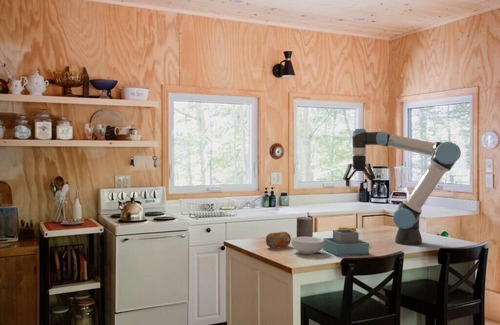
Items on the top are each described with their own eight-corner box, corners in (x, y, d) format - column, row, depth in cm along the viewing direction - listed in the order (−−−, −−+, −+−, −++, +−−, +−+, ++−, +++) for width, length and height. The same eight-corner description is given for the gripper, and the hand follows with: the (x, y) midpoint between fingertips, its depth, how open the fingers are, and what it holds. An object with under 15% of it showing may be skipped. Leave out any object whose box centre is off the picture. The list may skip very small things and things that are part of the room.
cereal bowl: (301, 257, 243) (301, 243, 243) (286, 250, 258) (286, 237, 258) (330, 254, 250) (330, 240, 250) (313, 248, 265) (313, 235, 265)
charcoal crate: (349, 247, 262) (350, 229, 262) (358, 251, 253) (358, 232, 252) (332, 248, 260) (332, 230, 260) (340, 252, 250) (340, 233, 250)
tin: (267, 248, 263) (267, 233, 263) (264, 247, 266) (264, 232, 266) (291, 246, 270) (291, 231, 270) (288, 245, 273) (288, 230, 273)
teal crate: (353, 247, 267) (353, 237, 267) (368, 254, 250) (368, 243, 250) (322, 249, 263) (322, 238, 263) (336, 256, 245) (336, 244, 245)
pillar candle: (293, 241, 286) (293, 215, 286) (302, 238, 294) (302, 214, 293) (306, 243, 280) (307, 217, 279) (315, 240, 288) (316, 215, 287)
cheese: (356, 246, 273) (356, 228, 273) (337, 245, 275) (337, 227, 275) (356, 242, 283) (356, 225, 283) (337, 241, 286) (337, 224, 285)
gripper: (374, 155, 290) (374, 190, 290) (336, 155, 282) (337, 191, 283) (381, 155, 283) (381, 191, 283) (343, 155, 275) (343, 192, 275)
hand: (359, 191), depth 283 cm, fingers open, 13 cm apart
